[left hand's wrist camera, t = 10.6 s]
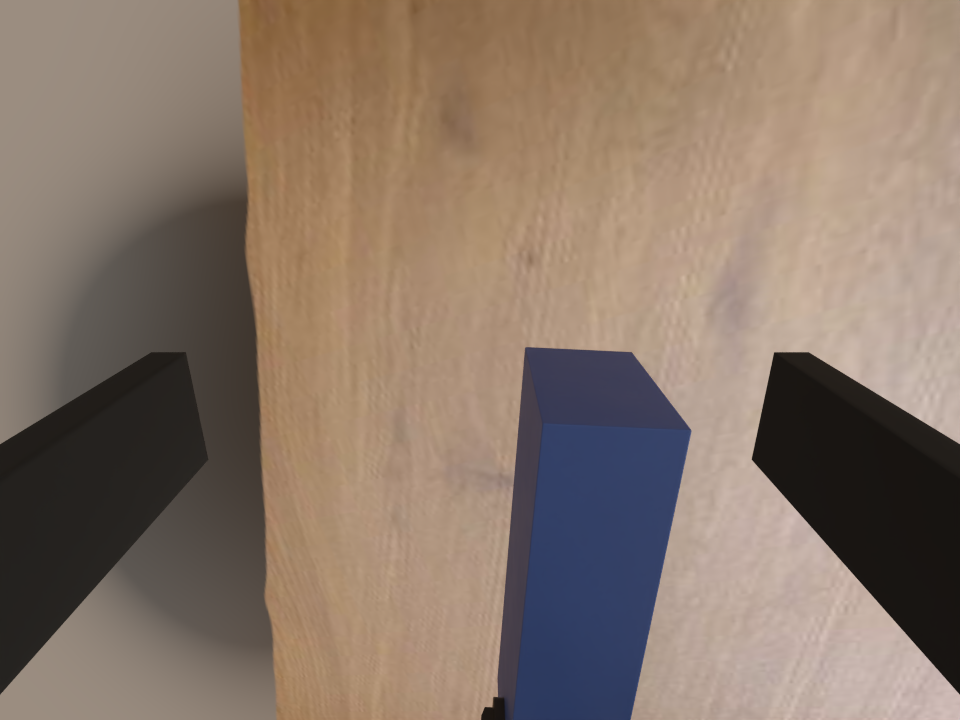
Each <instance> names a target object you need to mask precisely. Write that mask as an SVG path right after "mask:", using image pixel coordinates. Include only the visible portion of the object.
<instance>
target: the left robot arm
mask: <svg viewBox="0 0 960 720" xmlns="http://www.w3.org/2000/svg"><path fill="white" fill-rule="evenodd" d="M207 460H208V456H207V452H206V447H205V442H204V437H203V432H202V428H201V423H200V418H199V413H198V409H197V404H196V399H195V394H194V390H193V385H192V380H191V375H190V371H189V366H188V361H187V356H186V353H185V352H152V353H150V354H148V355H146V356H145V357H143V358H141V359H140V360H138V361H137V362H135V363H133V364H132V365H130V366H128V367H127V368H125V369H123V370H122V371H120V372H118V373H117V374H115V375H114V376H112V377H110V378H109V379H107V380H105V381H104V382H102V383H100V384H99V385H97V386H95V387H94V388H92V389H91V390H89V391H87V392H86V393H84V394H82V395H81V396H79V397H77V398H76V399H74V400H72V401H71V402H69V403H67V404H66V405H64V406H62V407H61V408H59V409H58V410H56V411H54V412H53V413H51V414H49V415H48V416H46V417H44V418H43V419H41V420H40V421H38V422H36V423H35V424H33V425H31V426H30V427H28V428H26V429H25V430H23V431H21V432H20V433H18V434H17V435H15V436H13V437H11V438H10V439H8V440H7V441H5V442H3V443H2V444H0V694H1V693H2V692H3V691H4V690H5V688H6V687H7V686H8V685H9V684H10V683H11V682H12V680H13V679H14V678H15V677H16V676H17V675H18V674H19V673H20V671H21V670H22V669H23V668H24V667H25V666H26V665H27V664H28V662H29V661H30V660H31V659H32V658H33V657H34V656H35V654H36V653H37V652H38V651H39V650H40V649H41V648H42V647H43V646H44V644H45V643H46V642H47V641H48V640H49V639H50V638H51V636H52V635H53V634H54V633H55V632H56V631H57V630H58V629H59V627H60V626H61V625H62V624H63V623H64V622H65V621H66V620H67V618H68V617H69V616H70V615H71V614H72V613H73V612H74V610H75V609H76V608H77V607H78V606H79V605H80V604H81V603H82V601H83V600H84V599H85V598H86V597H87V596H88V595H89V594H90V592H91V591H92V590H93V589H94V588H95V587H96V586H97V585H98V583H99V582H100V581H101V580H102V579H103V578H104V577H105V576H106V574H107V573H108V572H109V571H110V570H111V569H112V568H113V566H114V565H115V564H116V563H117V562H118V561H119V560H120V559H121V557H122V556H123V555H124V554H125V553H126V552H127V551H128V550H129V548H130V547H131V546H132V545H133V544H134V543H135V542H136V541H137V539H138V538H139V537H140V536H141V535H142V534H143V533H144V531H145V530H146V529H147V528H148V527H149V526H150V525H151V524H152V522H153V521H154V520H155V519H156V518H157V517H158V516H159V515H160V513H161V512H162V511H163V510H164V509H165V508H166V507H167V506H168V504H169V503H170V502H171V501H172V500H173V499H174V498H175V496H176V495H177V494H178V493H179V492H180V491H181V490H182V489H183V487H184V486H185V485H186V484H187V483H188V482H189V481H190V480H191V478H192V477H193V476H194V475H195V474H196V473H197V472H198V470H199V469H200V468H201V467H202V466H203V465H204V464H205V463H206V461H207ZM752 460H753V461H754V463H755V464H756V465H757V466H758V467H759V468H760V469H761V471H762V472H763V473H764V474H765V475H766V476H767V477H768V478H769V480H770V481H771V482H772V483H773V484H774V485H775V486H776V487H777V489H778V490H779V491H780V492H781V493H782V494H783V495H784V496H785V498H786V499H787V500H788V501H789V502H790V503H791V504H792V506H793V507H794V508H795V509H796V510H797V511H798V512H799V513H800V515H801V516H802V517H803V518H804V519H805V520H806V521H807V522H808V524H809V525H810V526H811V527H812V528H813V529H814V530H815V531H816V533H817V534H818V535H819V536H820V537H821V538H822V539H823V541H824V542H825V543H826V544H827V545H828V546H829V547H830V548H831V550H832V551H833V552H834V553H835V554H836V555H837V556H838V557H839V559H840V560H841V561H842V562H843V563H844V564H845V565H846V566H847V568H848V569H849V570H850V571H851V572H852V573H853V574H854V576H855V577H856V578H857V579H858V580H859V581H860V582H861V583H862V585H863V586H864V587H865V588H866V589H867V590H868V591H869V592H870V594H871V595H872V596H873V597H874V598H875V599H876V600H877V601H878V603H879V604H880V605H881V606H882V607H883V608H884V609H885V611H886V612H887V613H888V614H889V615H890V616H891V617H892V618H893V620H894V621H895V622H896V623H897V624H898V625H899V626H900V627H901V629H902V630H903V631H904V632H905V633H906V634H907V635H908V636H909V638H910V639H911V640H912V641H913V642H914V643H915V644H916V646H917V647H918V648H919V649H920V650H921V651H922V652H923V653H924V655H925V656H926V657H927V658H928V659H929V660H930V661H931V662H932V664H933V665H934V666H935V667H936V668H937V669H938V670H939V671H940V673H941V674H942V675H943V676H944V677H945V678H946V679H947V681H948V682H949V683H950V684H951V685H952V686H953V687H954V688H955V690H956V691H957V692H958V693H959V694H960V444H958V443H957V442H955V441H953V440H952V439H950V438H949V437H947V436H945V435H944V434H942V433H940V432H939V431H937V430H935V429H934V428H932V427H930V426H929V425H927V424H926V423H924V422H922V421H921V420H919V419H917V418H916V417H914V416H912V415H911V414H909V413H907V412H906V411H904V410H902V409H901V408H899V407H898V406H896V405H894V404H893V403H891V402H889V401H888V400H886V399H884V398H883V397H881V396H879V395H878V394H876V393H875V392H873V391H871V390H870V389H868V388H866V387H865V386H863V385H861V384H860V383H858V382H856V381H855V380H853V379H851V378H850V377H848V376H847V375H845V374H843V373H842V372H840V371H838V370H837V369H835V368H833V367H832V366H830V365H828V364H827V363H825V362H824V361H822V360H820V359H819V358H817V357H815V356H814V355H812V354H810V353H809V352H774V356H773V361H772V366H771V370H770V375H769V380H768V385H767V390H766V394H765V399H764V404H763V409H762V413H761V418H760V423H759V428H758V432H757V437H756V442H755V447H754V451H753V456H752Z"/></svg>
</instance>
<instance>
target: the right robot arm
mask: <svg viewBox="0 0 960 720" xmlns="http://www.w3.org/2000/svg"><path fill="white" fill-rule="evenodd" d="M481 720H505V703H504V697H493V708H492V707H485V708H484V711H483V713H482V715H481Z"/></svg>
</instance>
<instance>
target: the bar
mask: <svg viewBox="0 0 960 720" xmlns="http://www.w3.org/2000/svg"><path fill="white" fill-rule="evenodd" d="M690 436H691V429H690V428H689V427H688V425H687V424H686V423H685V421H684V420H683V419H682V417H681V416H680V415H679V414H678V412H677V411H676V410H675V408H674V407H673V406H672V404H671V403H670V402H669V400H668V399H667V398H666V397H665V395H664V394H663V393H662V391H661V390H660V389H659V387H658V386H657V385H656V383H655V382H654V381H653V380H652V378H651V377H650V376H649V374H648V373H647V372H646V370H645V369H644V368H643V366H642V365H641V364H640V363H639V361H638V360H637V359H636V357H635V356H634V355H633V353H632V352H614V351H594V350H573V349H552V348H531V347H526V348H525V357H524V369H523V380H522V392H521V404H520V416H519V428H518V440H517V452H516V464H515V476H514V488H513V500H512V512H511V524H510V536H509V548H508V560H507V572H506V584H505V596H504V608H503V620H502V632H501V644H500V656H499V668H498V697H504V703H505V720H630V719H631V715H632V710H633V705H634V701H635V696H636V691H637V686H638V682H639V677H640V672H641V667H642V663H643V658H644V653H645V649H646V644H647V639H648V634H649V630H650V625H651V620H652V615H653V611H654V606H655V601H656V597H657V592H658V587H659V582H660V578H661V573H662V568H663V563H664V559H665V554H666V549H667V544H668V540H669V535H670V530H671V526H672V521H673V516H674V511H675V507H676V502H677V497H678V492H679V488H680V483H681V478H682V474H683V469H684V464H685V459H686V455H687V450H688V445H689V440H690Z"/></svg>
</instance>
